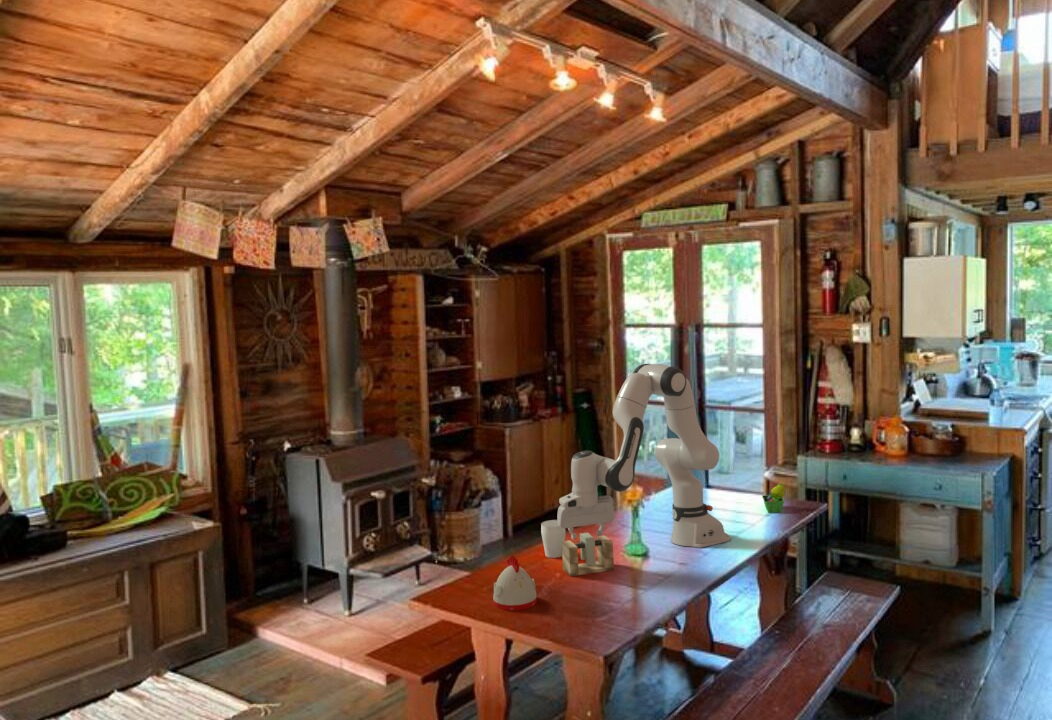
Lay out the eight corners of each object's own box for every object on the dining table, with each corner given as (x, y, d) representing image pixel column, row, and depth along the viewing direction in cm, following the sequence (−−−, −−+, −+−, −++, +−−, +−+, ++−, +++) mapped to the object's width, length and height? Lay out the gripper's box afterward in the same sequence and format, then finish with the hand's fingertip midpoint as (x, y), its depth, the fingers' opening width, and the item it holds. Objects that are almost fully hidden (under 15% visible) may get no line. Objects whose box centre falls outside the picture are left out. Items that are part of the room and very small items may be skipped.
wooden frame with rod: (605, 562, 305) (604, 535, 304) (614, 569, 297) (612, 541, 296) (563, 569, 300) (561, 541, 299) (570, 576, 293) (569, 547, 292)
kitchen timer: (503, 613, 263) (500, 566, 262) (487, 599, 276) (484, 554, 274) (544, 604, 268) (541, 558, 267) (526, 591, 281) (524, 546, 280)
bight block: (588, 557, 302) (587, 532, 301) (595, 563, 295) (594, 538, 294) (580, 558, 301) (579, 533, 300) (587, 564, 295) (586, 539, 294)
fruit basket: (761, 506, 366) (761, 480, 365) (783, 506, 365) (782, 480, 364) (765, 513, 355) (764, 487, 354) (787, 513, 354) (787, 486, 353)
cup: (564, 559, 311) (563, 527, 310) (540, 559, 313) (538, 526, 312) (568, 551, 320) (566, 520, 319) (544, 551, 321) (543, 519, 320)
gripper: (609, 492, 302) (611, 530, 303) (554, 499, 297) (556, 538, 298) (616, 496, 296) (618, 535, 297) (560, 503, 291) (562, 543, 292)
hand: (586, 537), depth 298 cm, fingers open, 8 cm apart
